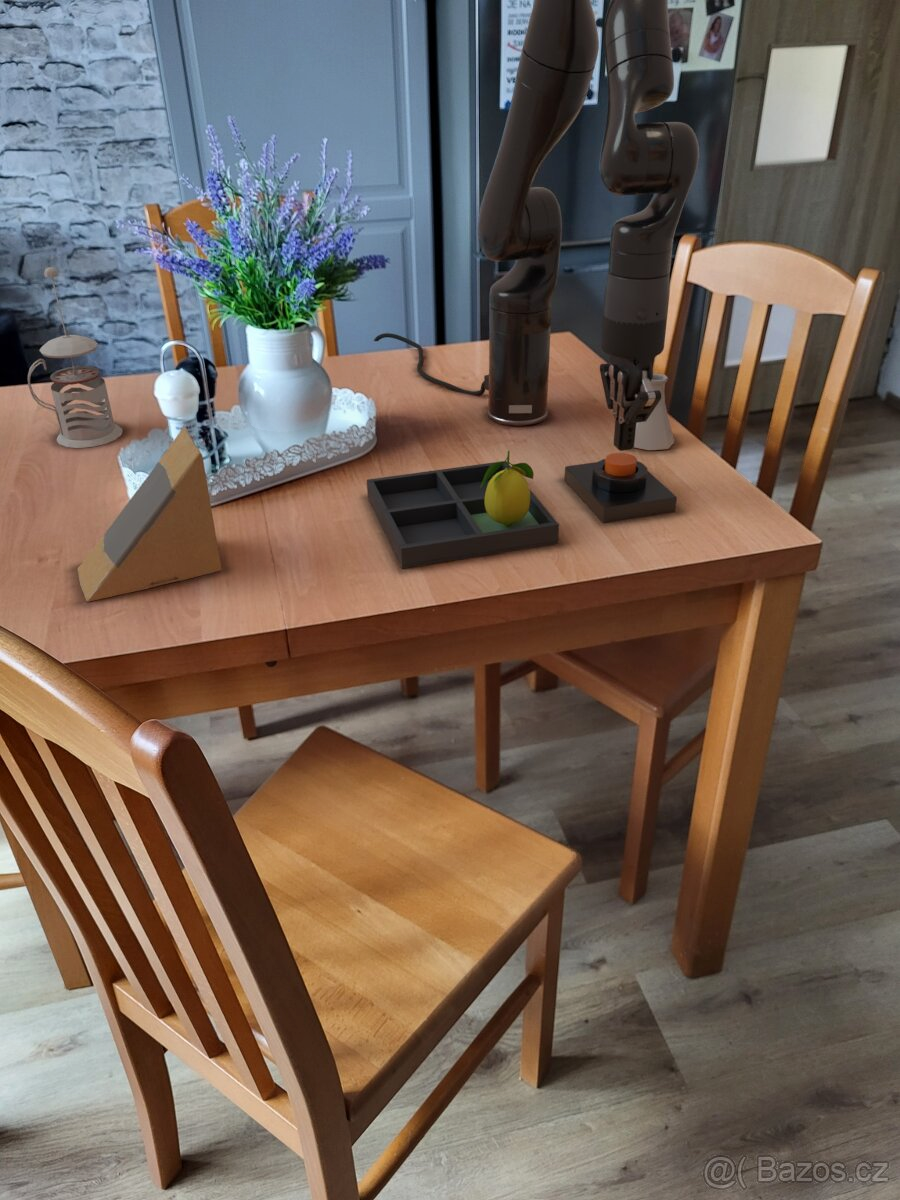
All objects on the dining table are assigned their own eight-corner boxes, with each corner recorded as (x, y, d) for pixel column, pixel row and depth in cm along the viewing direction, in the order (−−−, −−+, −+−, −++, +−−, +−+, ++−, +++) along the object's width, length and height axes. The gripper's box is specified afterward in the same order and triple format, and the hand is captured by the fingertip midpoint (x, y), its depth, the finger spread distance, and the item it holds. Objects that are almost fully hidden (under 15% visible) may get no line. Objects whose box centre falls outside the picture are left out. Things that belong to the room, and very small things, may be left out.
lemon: (480, 538, 113) (480, 462, 107) (478, 516, 118) (478, 442, 112) (535, 537, 113) (538, 461, 107) (531, 515, 118) (534, 441, 112)
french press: (125, 441, 141) (89, 271, 128) (44, 454, 138) (-3, 280, 124) (120, 419, 149) (84, 256, 136) (42, 430, 146) (-2, 264, 132)
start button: (599, 467, 123) (600, 454, 122) (627, 463, 124) (628, 450, 123) (612, 479, 120) (613, 466, 119) (640, 475, 120) (642, 462, 119)
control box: (564, 481, 128) (565, 453, 126) (631, 471, 130) (633, 444, 128) (603, 523, 117) (605, 494, 115) (675, 512, 119) (678, 484, 117)
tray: (367, 497, 124) (366, 479, 123) (505, 478, 129) (506, 460, 127) (402, 568, 108) (401, 548, 107) (558, 544, 113) (559, 524, 111)
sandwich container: (75, 568, 110) (43, 449, 102) (205, 539, 115) (185, 424, 107) (85, 603, 103) (52, 479, 95) (222, 571, 109) (202, 451, 101)
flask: (674, 453, 135) (682, 386, 129) (623, 450, 136) (629, 384, 131) (674, 434, 141) (682, 369, 135) (625, 431, 142) (631, 367, 137)
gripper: (691, 323, 106) (674, 464, 115) (639, 295, 117) (627, 426, 126) (630, 330, 104) (618, 472, 114) (583, 300, 115) (576, 432, 124)
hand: (623, 447), depth 120 cm, fingers closed
